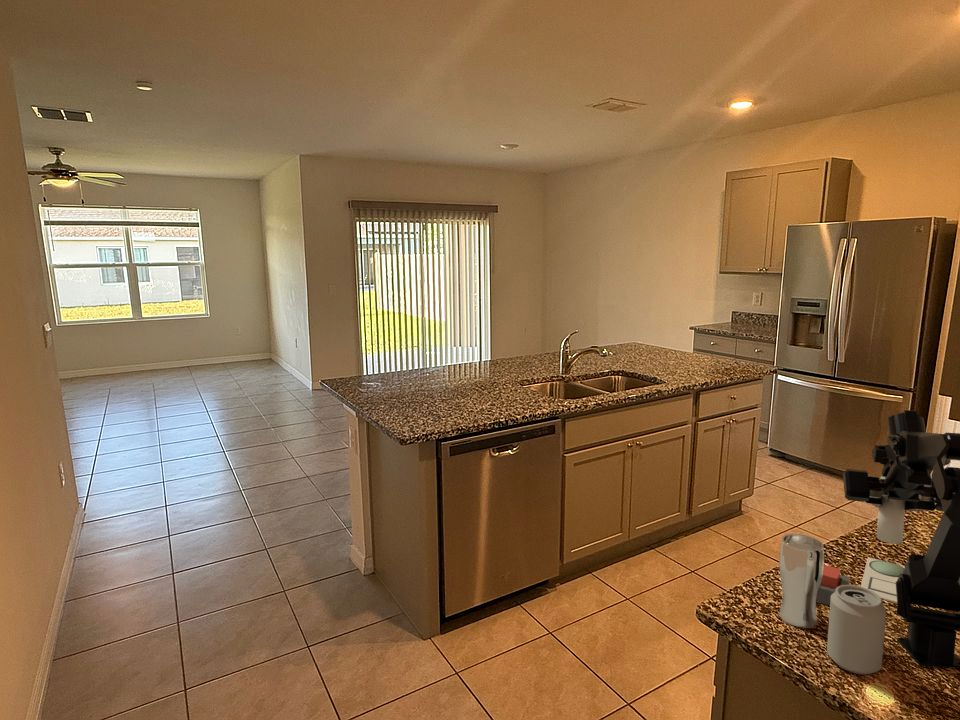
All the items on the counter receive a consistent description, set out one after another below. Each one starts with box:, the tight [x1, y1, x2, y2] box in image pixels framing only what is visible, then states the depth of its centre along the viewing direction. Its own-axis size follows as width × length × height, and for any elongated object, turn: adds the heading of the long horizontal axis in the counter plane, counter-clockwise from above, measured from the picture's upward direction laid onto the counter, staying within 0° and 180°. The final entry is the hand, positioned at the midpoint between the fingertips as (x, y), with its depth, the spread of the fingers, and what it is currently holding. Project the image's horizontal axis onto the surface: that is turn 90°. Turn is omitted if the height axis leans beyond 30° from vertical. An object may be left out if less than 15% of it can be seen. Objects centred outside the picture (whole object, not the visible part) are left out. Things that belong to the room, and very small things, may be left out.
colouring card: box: [860, 556, 905, 604], centre depth 115 cm, size 17×8×1 cm, turn 141°
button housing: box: [816, 574, 851, 607], centre depth 111 cm, size 8×8×3 cm
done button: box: [821, 564, 841, 589], centre depth 111 cm, size 4×4×3 cm
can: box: [826, 584, 887, 675], centre depth 91 cm, size 8×8×12 cm
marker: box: [876, 475, 906, 545], centre depth 118 cm, size 5×5×13 cm
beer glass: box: [778, 533, 825, 629], centre depth 103 cm, size 7×7×15 cm
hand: (890, 506), depth 119 cm, fingers closed on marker, 4 cm apart
